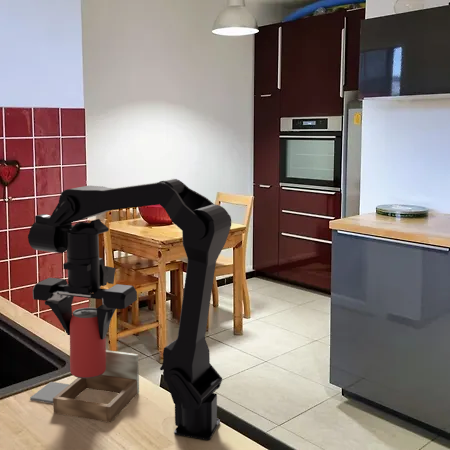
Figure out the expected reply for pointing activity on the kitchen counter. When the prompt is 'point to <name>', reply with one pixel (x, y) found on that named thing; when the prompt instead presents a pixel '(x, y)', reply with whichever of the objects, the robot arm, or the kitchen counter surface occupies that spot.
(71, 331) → the beer can
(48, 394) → the plate
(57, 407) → the drawer
